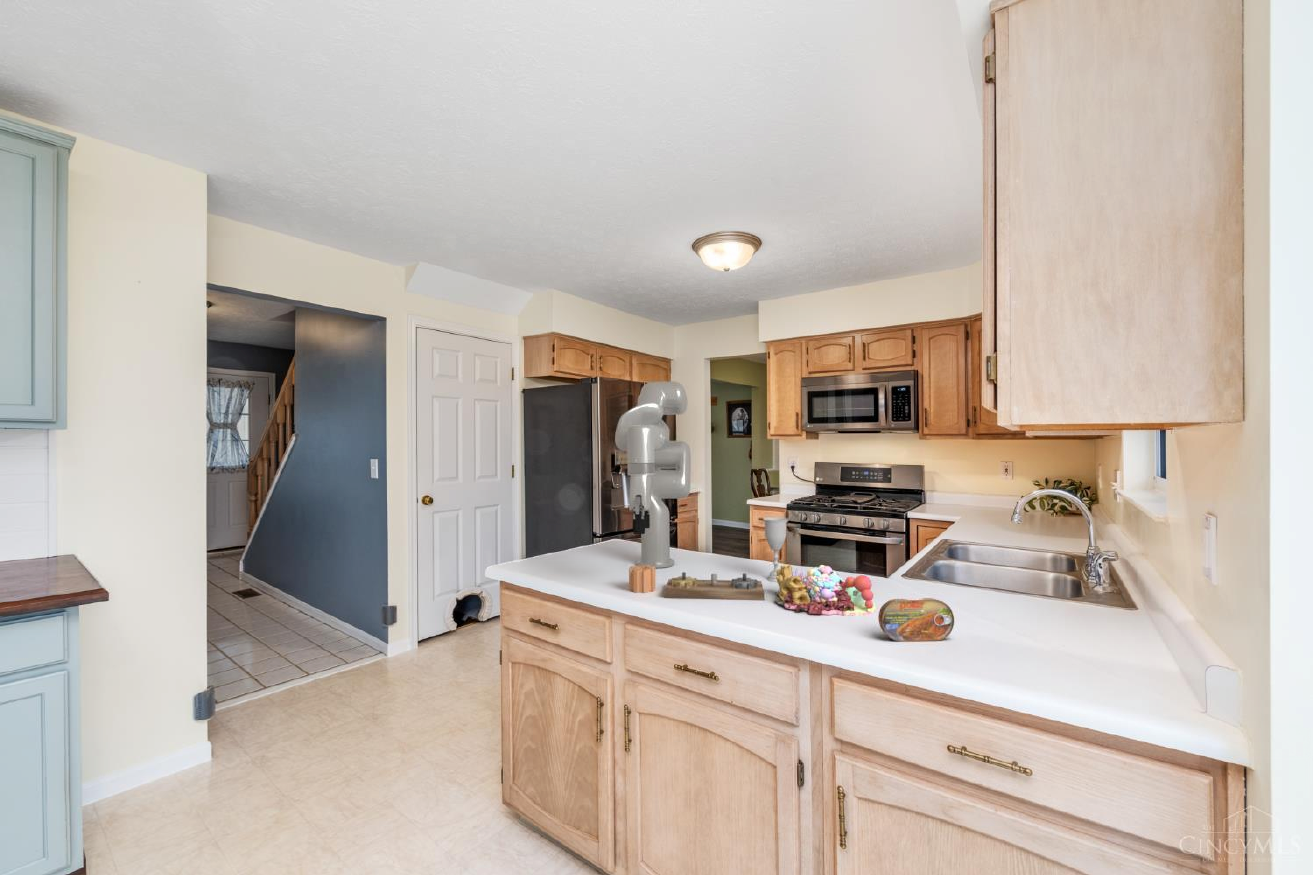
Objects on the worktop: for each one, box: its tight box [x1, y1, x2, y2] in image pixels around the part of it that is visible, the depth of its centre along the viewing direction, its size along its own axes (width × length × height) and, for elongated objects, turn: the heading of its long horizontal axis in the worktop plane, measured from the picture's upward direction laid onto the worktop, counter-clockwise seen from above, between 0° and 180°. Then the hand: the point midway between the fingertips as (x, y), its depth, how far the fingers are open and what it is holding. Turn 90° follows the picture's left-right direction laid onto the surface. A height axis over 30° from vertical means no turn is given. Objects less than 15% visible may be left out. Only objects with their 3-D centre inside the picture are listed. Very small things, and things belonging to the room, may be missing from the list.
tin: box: [877, 597, 955, 643], centre depth 118 cm, size 15×3×8 cm, turn 91°
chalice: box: [762, 516, 789, 583], centre depth 168 cm, size 7×7×18 cm
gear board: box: [663, 572, 765, 601], centre depth 155 cm, size 12×26×5 cm, turn 83°
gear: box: [628, 564, 656, 594], centre depth 159 cm, size 7×7×6 cm
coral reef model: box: [774, 564, 878, 617], centre depth 145 cm, size 25×24×9 cm
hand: (641, 530), depth 159 cm, fingers open, 9 cm apart
